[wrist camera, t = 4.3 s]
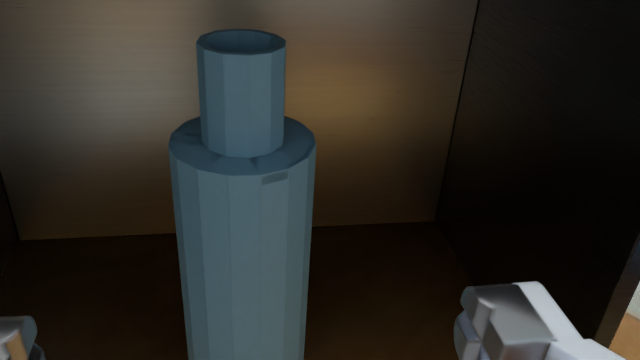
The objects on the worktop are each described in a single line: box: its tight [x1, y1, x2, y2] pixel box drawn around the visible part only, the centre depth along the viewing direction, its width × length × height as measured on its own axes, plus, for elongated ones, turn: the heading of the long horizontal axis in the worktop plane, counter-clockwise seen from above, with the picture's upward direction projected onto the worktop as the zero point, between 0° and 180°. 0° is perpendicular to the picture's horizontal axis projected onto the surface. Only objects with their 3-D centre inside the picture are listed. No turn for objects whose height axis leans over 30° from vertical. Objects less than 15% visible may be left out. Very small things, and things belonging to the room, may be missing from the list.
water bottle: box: [168, 29, 317, 360], centre depth 25 cm, size 6×6×18 cm
